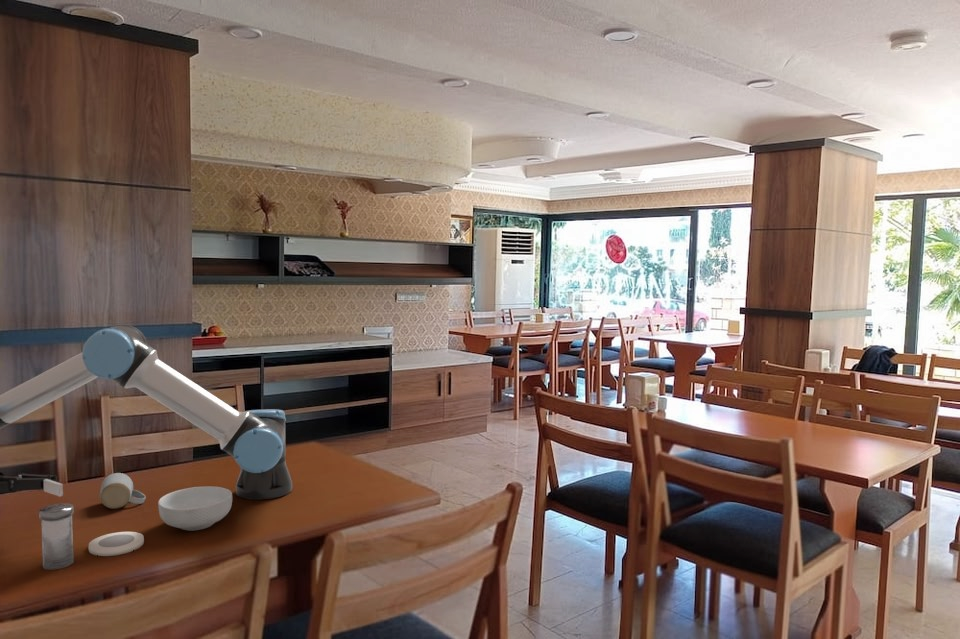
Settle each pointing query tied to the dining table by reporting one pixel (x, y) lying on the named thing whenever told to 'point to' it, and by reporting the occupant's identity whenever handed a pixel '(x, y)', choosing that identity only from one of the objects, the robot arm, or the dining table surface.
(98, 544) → the round white coaster
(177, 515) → the cereal bowl
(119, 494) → the ceramic mug
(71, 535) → the lidded glass jar
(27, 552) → the dining table surface
